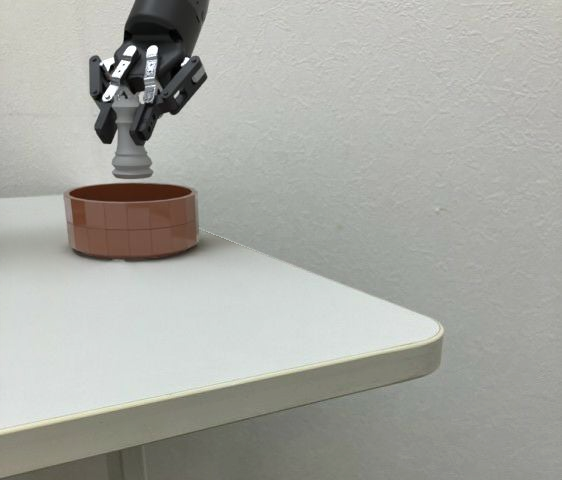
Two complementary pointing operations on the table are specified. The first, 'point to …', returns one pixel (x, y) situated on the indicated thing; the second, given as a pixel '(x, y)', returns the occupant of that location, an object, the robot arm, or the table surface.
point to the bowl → (132, 219)
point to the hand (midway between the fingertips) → (119, 139)
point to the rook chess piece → (129, 143)
